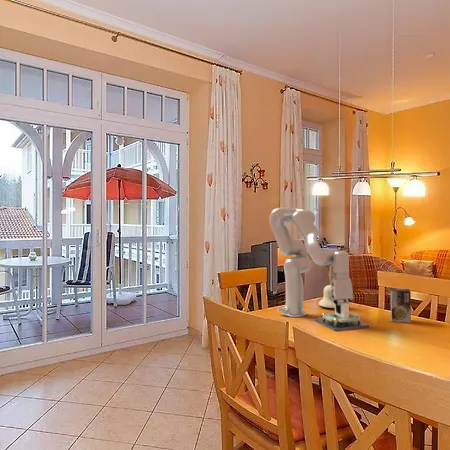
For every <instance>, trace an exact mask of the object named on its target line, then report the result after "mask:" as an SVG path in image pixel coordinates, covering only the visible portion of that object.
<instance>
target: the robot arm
mask: <svg viewBox="0 0 450 450" xmlns="http://www.w3.org/2000/svg"><path fill="white" fill-rule="evenodd" d="M268 220H269V226H270V229H271V231H272V233H273V235H274V238H275V240H276V244H277V247H278V249H279V251H280V253H281V254H282V256H286V257H288V258H287V259H286V260H285V261H284V263H283V271H284V278H285V279H284V280H285V283H284V284H285V305H284V306H283V307H277V309H276V310H277V312H278V313H279V312H280V313H282V314H283V316H286V317H291V318H301V317H305V316H306V315H307V312H306V311H305V310H304V281H303V277H302V274H304V273H307V272H309V271H310V270H311V267H312V263H311V260H312V261H313V262H314V263H315V264H316V265H317V266H319V267H323V266H331V265H332V266H333V274H332V275H331V276H332V277H333V279H332V284H331V296H330V299H329V300H331V301H333V302H334V303H335V304H336V312H337V313H339V314H340V313H341V306H340V300H342V301H343V302H346V303H349V304H350V301H352V300H353V299H354V292H353V284H352V279H351V278H350V256H349V255H350V254H349V252H348V251H346V250H333V249H326V250H323V249H322V248H321V246H320V245H319V242H318V240H317V237H318V235H319V234H320V230H319V229H318V228H317V226H316V224H315V223H316V222H315V221H316V216H315V213H314V212H313V211H311V210H308V209H302V208H296V207H284V206H283V207H277V208H274V209H273V210H272V211H271V213H270V214H269V219H268ZM285 223H293V224H294V225H295V227H296V228H297V230H298V231H299V233H300V234H301V235H302V237H303V239H304V240H305V241H304V242H305V244H304V243H303V241H302V240H301V239H299V238H296V237H295V238H293V237H292V235H291V233H290V230H289V229H288V227H287V225H286V224H285ZM289 256H291V257H289ZM310 258H311V259H310ZM333 298H335V300H334V299H333Z"/></svg>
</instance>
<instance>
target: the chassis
mask: <svg viewBox="0 0 450 450" xmlns="http://www.w3.org/2000/svg"><path fill="white" fill-rule="evenodd" d="M323 315H326V313H325V312H322V316H323ZM360 316H361V315H359V316H358V318H359V321H350V322H339V321H337V318H334V319H335V321H329V320H327V319H325V318H323V317H315V318H314V321H315V322H317V323H319V324H320V325H323V326H325V327H326V328H328V329H330V330H332V331H333V332H339V331H341V332H342V331H349V330H359V329H369V327H370V324H369V323H366V322H363V321H362V320H361V318H360Z"/></svg>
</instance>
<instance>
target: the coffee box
mask: <svg viewBox="0 0 450 450" xmlns="http://www.w3.org/2000/svg"><path fill="white" fill-rule="evenodd" d="M411 299H412V298H411V289H410V288H393V287H392V288H390V320H391V322H392V323H393V322H394V323H396V322H397V323H410V324H411V323H412V315H411V314H412V304H411V303H412V301H411Z"/></svg>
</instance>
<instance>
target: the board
mask: <svg viewBox="0 0 450 450" xmlns="http://www.w3.org/2000/svg"><path fill="white" fill-rule="evenodd" d="M341 300H342V299H341ZM341 300H340V306H341V313H340V314H339V313H337V312H336V304H335V308H334V312H328V313H327V312H326V313H325V315H323V314H322V318H325V319H327V320H329V321H335V319H334V318H337V321H339V322H350V321H359V318H358V316H360V319H362V316H361V315H359V314H356V313H354V312H350V302H349V303H346V302H343V300H342V301H341Z"/></svg>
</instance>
